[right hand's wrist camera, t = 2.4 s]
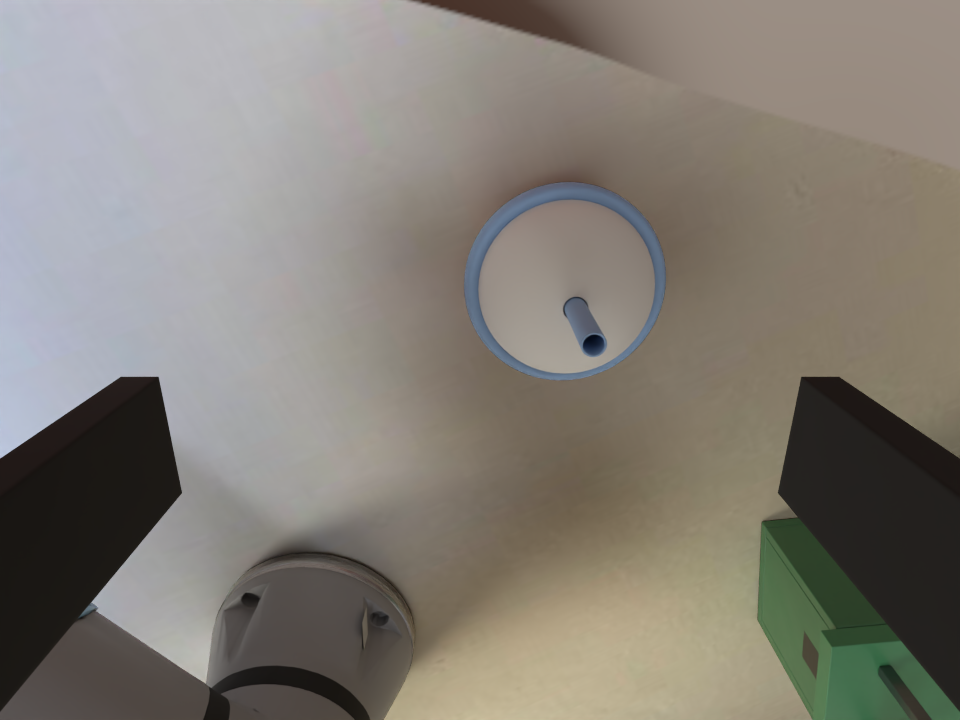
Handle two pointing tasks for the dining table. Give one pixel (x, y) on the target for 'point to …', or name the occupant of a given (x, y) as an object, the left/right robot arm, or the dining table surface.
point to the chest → (804, 600)
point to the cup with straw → (565, 281)
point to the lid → (874, 679)
